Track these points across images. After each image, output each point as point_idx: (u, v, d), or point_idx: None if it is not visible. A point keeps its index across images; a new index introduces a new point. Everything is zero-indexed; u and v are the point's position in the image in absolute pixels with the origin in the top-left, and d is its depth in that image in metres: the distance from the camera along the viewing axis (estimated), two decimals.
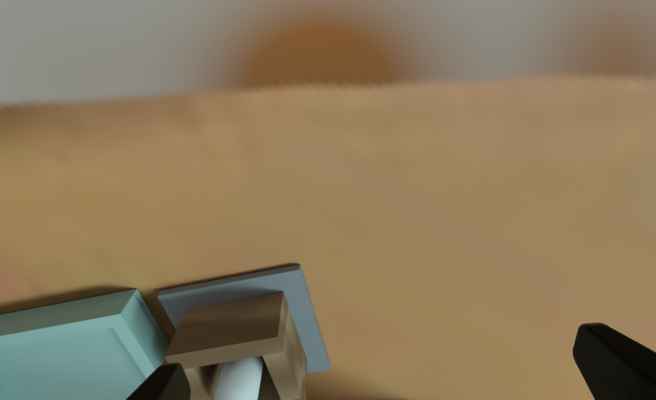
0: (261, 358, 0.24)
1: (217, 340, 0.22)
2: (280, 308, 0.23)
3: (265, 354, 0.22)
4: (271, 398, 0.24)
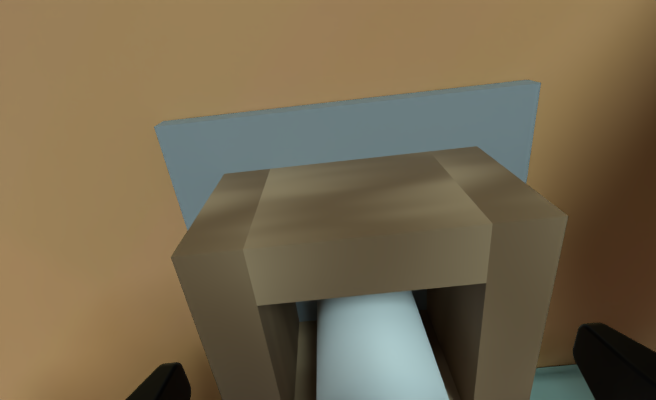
0: None
1: None
2: (207, 202, 0.09)
3: (251, 297, 0.07)
4: (476, 300, 0.07)
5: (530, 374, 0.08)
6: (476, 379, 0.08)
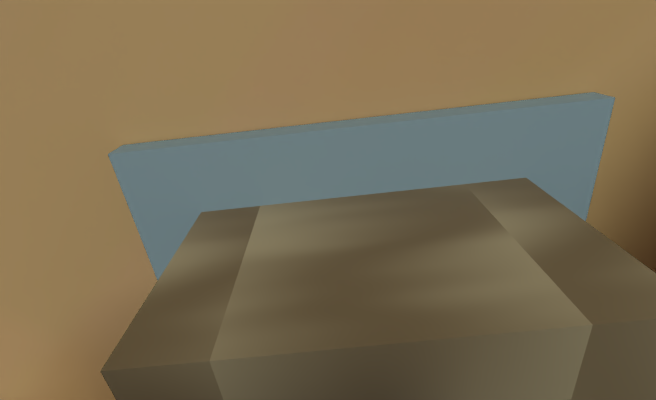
0: None
1: None
2: (173, 259, 0.06)
3: None
4: None
5: None
6: None
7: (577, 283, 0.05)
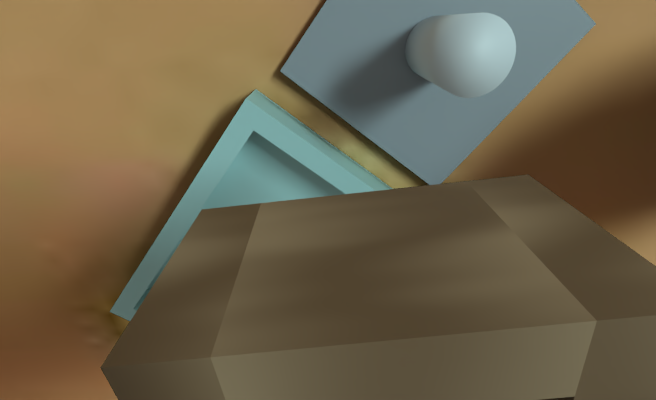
0: None
1: None
2: (173, 256, 0.06)
3: None
4: None
5: None
6: None
7: (580, 279, 0.05)
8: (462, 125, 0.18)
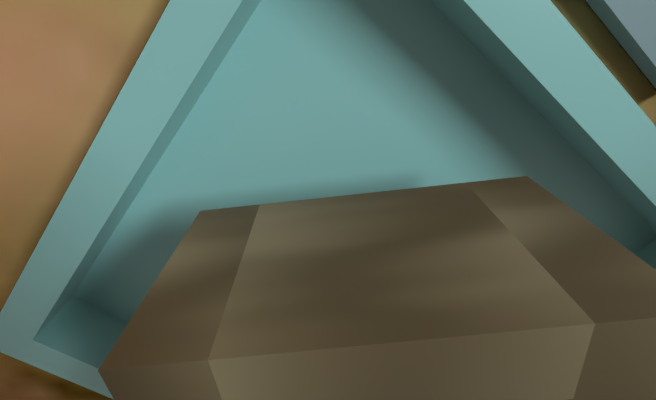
0: None
1: None
2: (172, 258, 0.06)
3: None
4: None
5: None
6: None
7: (579, 281, 0.05)
8: None
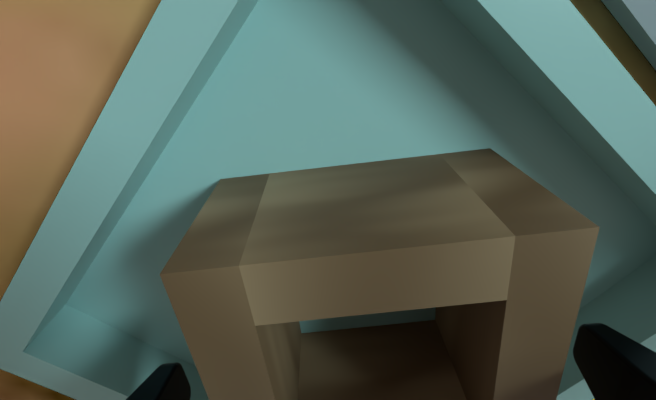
0: None
1: None
2: (202, 210, 0.08)
3: (248, 316, 0.06)
4: (494, 317, 0.07)
5: (552, 395, 0.08)
6: None
7: (511, 213, 0.06)
8: None
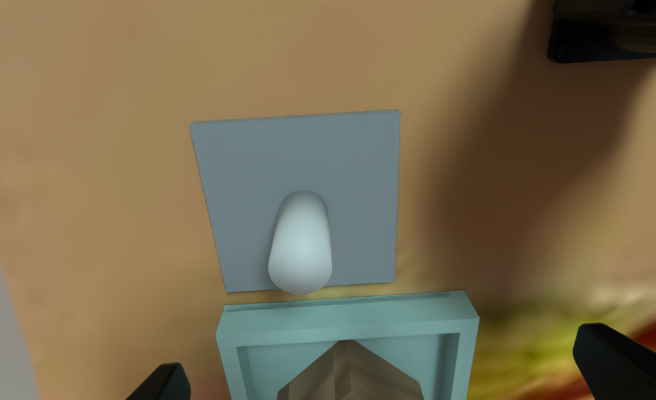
0: (296, 211, 0.16)
1: None
2: None
3: None
4: None
5: None
6: None
7: (337, 390, 0.20)
8: (371, 235, 0.20)
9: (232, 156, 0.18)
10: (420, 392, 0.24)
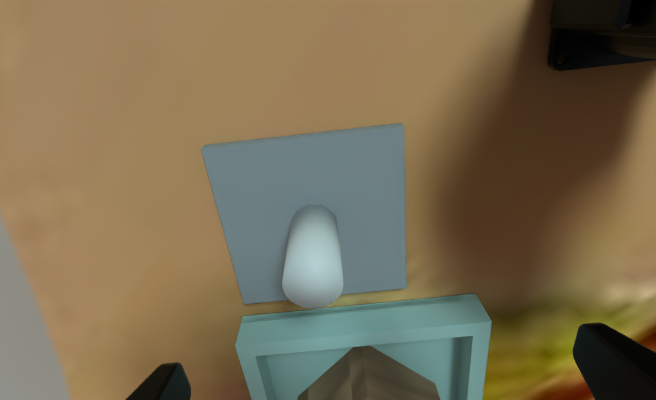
0: (307, 227, 0.17)
1: None
2: None
3: None
4: None
5: None
6: None
7: (355, 395, 0.21)
8: (381, 244, 0.20)
9: (243, 176, 0.18)
10: (436, 394, 0.25)
